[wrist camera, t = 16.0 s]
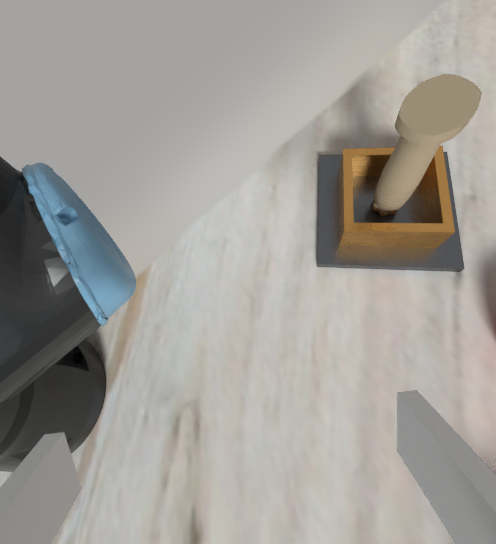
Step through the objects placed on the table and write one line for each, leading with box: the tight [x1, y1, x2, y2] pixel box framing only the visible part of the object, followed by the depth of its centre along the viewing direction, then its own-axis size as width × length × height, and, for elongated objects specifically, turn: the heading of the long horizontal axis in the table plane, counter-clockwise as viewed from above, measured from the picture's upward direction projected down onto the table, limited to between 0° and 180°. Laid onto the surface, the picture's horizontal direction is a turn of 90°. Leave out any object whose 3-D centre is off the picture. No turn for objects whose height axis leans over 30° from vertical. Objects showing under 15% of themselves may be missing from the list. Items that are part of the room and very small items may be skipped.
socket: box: [317, 146, 464, 272], centre depth 36 cm, size 16×16×5 cm
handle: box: [373, 74, 482, 216], centre depth 30 cm, size 5×6×15 cm
